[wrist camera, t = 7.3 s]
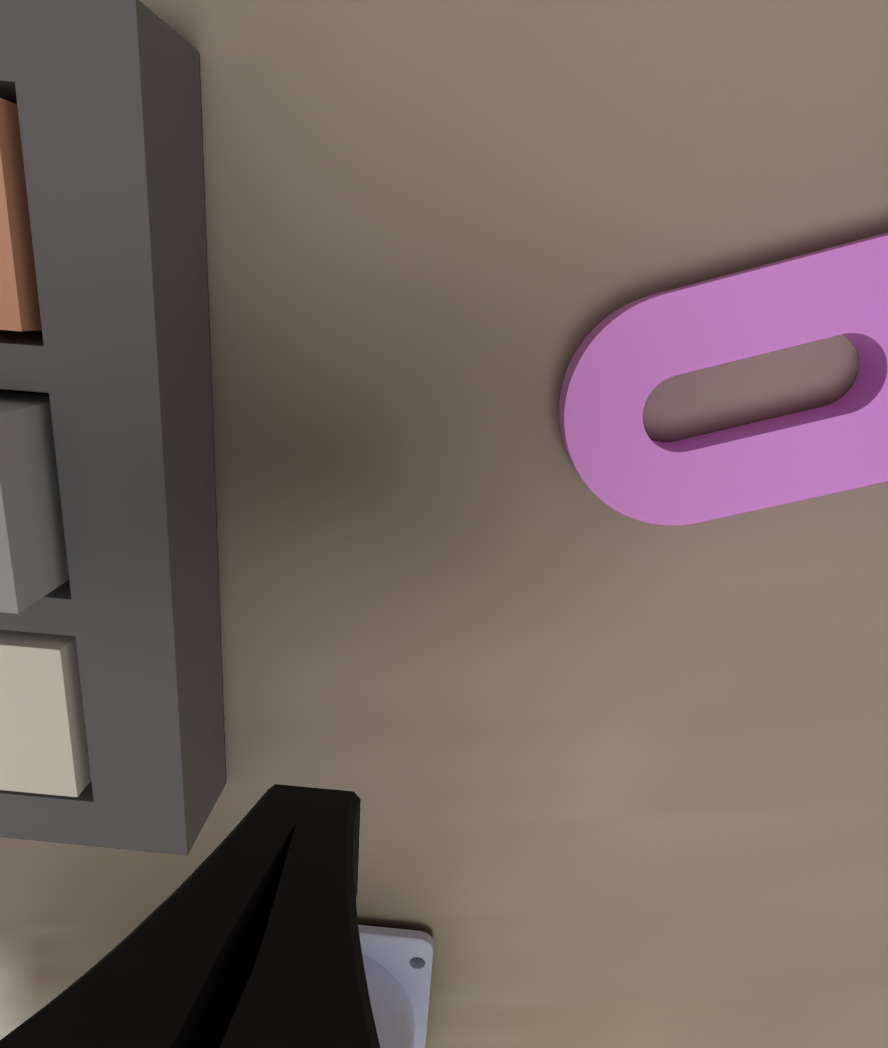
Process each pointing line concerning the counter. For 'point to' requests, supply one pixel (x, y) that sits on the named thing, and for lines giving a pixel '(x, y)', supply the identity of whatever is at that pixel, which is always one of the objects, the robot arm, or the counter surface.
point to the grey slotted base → (122, 412)
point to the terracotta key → (15, 232)
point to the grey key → (29, 503)
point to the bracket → (720, 337)
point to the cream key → (41, 715)
